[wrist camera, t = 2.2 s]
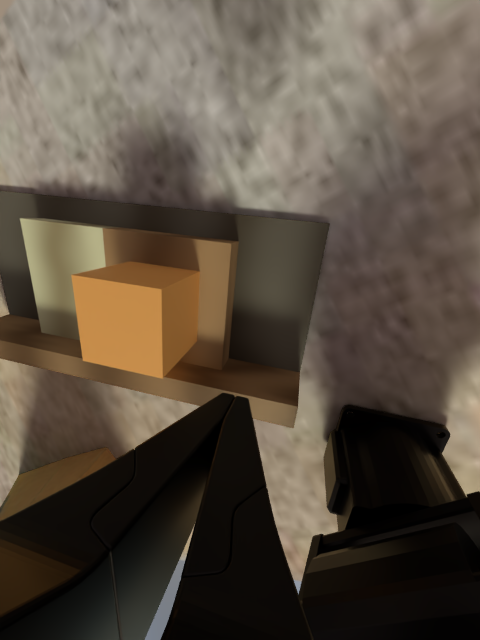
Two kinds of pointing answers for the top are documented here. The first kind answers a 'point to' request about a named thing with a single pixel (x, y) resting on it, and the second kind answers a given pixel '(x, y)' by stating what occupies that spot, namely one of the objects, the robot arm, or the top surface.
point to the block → (137, 316)
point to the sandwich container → (52, 479)
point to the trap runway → (178, 252)
